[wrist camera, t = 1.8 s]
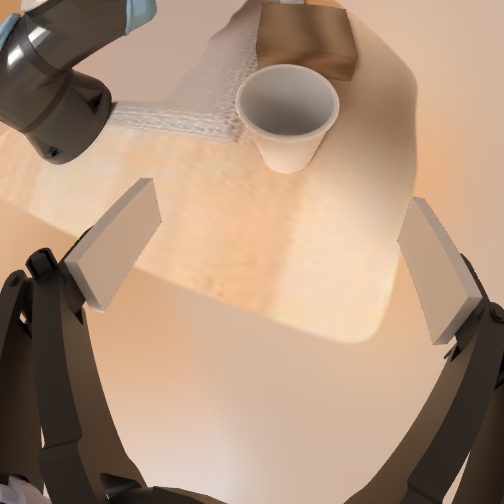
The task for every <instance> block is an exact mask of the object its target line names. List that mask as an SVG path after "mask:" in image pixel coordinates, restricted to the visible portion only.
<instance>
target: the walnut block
mask: <svg viewBox="0 0 504 504" xmlns="http://www.w3.org/2000/svg"><path fill="white" fill-rule="evenodd" d="M256 54H257V60H258V67H259V70H260V69H262V68H265V67H268V66H272V65H279V64H291V65H298V66H303V67H306V68H309V69H311V70H313V71H315V72H317V73H319V74H320V75H322V76H323V77H325V78H331V79H339V80H346V81H350V80H351V77H352V73H353V70H354V66H355V63H356V59H357V53H356V49H355V44H354V40H353V35H352V31H351V27H350V24H349V20H348V16H347V12H346V9H340V8H333V7H326V6H317V5H306V4H289V3H263V4H262V10H261V17H260V23H259V30H258V36H257V43H256Z"/></svg>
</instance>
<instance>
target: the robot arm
mask: <svg viewBox="0 0 504 504" xmlns="http://www.w3.org/2000/svg"><path fill="white" fill-rule="evenodd" d="M21 10H22V11H23V12H24V13H25V14H24V15H23V16H22V17H21V15H20V14H17V13H12V14H11V15H10V16H9V17H8V18H7V19H6V20H5V21H4V22H3V24H2V25H1V26H0V121H1V122H3V123H5V124H7V125H9V126H10V127H12V128H14V129H16V130H18V131H19V132H21V133H23V134H24V135H25V136H26V137H27V139H28V140H29V141H30V143H31V144H32V146H33V147H34V148H35V150H36V151H37V152H38V154H39V155H40V156H41V157H42V158H43V159H45V160H47V161H48V162H50V163H52V164H56V165H59V164H64V163H67V162H69V161H71V160H73V159H74V158H76V157H77V156H78V155H80V154H81V153H82V152H83V151H84V150H85V149H86V148H87V147H88V146H89V145H90V144H91V143H92V141H93V140H94V139H95V138H96V136H97V135H98V133H99V132H100V130H101V129H102V127H103V125H104V123H105V122H106V119H107V117H108V115H109V112H110V108H111V102H112V97H111V93H110V91H109V89H108V88H107V87H106V86H105V85H104V84H103V83H102V82H101V81H99V80H98V79H95V78H93V77H91V76H88V75H85V74H83V73H80V72H78V71H75V70H73V69H72V67H74V66H75V65H77V64H78V63H79V62H81V61H82V60H84V59H85V58H87V57H88V56H90V55H91V54H93V53H94V52H96V51H97V50H99V49H101V48H102V47H104V46H106V45H107V44H109V43H111V42H112V41H114V40H116V39H118V38H119V37H121V36H123V35H124V36H126V35H128V34H129V33H130V32H131V31H132V30H134V29H136V28H138V27H140V26H142V25H143V24H145V23H147V22H149V21H150V20H152V19H153V17H154V16H155V14H156V11H157V6H156V2H155V0H22V4H21ZM161 223H162V221H161V216H160V212H159V207H158V203H157V198H156V193H155V188H154V183H153V178H140V179H139V180H138V181H137V182H136V183H135V184H134V185H133V186H132V187H131V188H130V189H129V190H128V191H127V192H126V193H125V194H124V195H123V196H122V197H121V198H120V199H119V200H118V201H117V202H116V203H115V204H114V205H113V206H112V207H111V208H110V209H109V210H108V211H107V212H106V213H105V214H104V215H103V216H102V217H101V218H100V219H99V220H98V222H97V223H96V224H95V225H94V226H92V227H91V228H89V229H88V230H87V231H85V232H84V233H83V235H82V236H81V237H80V238H79V240H77V241H76V243H75V244H74V246H72V247H71V249H70V250H69V251H68V252H67V253H66V255H65V256H64V257H63V258H62V259H61V261H60V262H59V263H57V261H56V259H55V257H54V255H53V253H52V251H51V250H50V249H49V248H42V249H39V250H37V251H36V252H34V253H33V254H32V255H31V256H30V257H29V258H28V260H27V262H26V266H27V268H28V270H29V271H30V273H31V275H32V277H33V278H28V277H27V275H26V274H25V272H24V271H23V270H17V271H15V272H13V273H11V274H10V275H9V277H8V278H7V279H6V281H5V283H4V285H3V288H2V290H1V293H0V504H227V503H224V502H221V501H219V500H217V499H214V498H212V497H210V496H208V495H203V494H199V493H195V492H191V491H187V490H183V489H179V488H168V487H158V486H154V487H147V485H146V483H145V481H144V479H143V477H142V475H141V473H140V472H139V470H138V468H137V467H136V465H135V464H134V463H133V462H132V461H131V460H130V459H129V457H128V456H127V454H126V453H125V450H124V448H123V446H122V443H121V441H120V438H119V436H118V433H117V431H116V428H115V425H114V422H113V420H112V417H111V414H110V411H109V408H108V405H107V402H106V399H105V396H104V392H103V389H102V386H101V382H100V378H99V375H98V371H97V367H96V363H95V359H94V355H93V350H92V346H91V341H90V336H89V331H88V326H87V320H86V314H85V310H84V309H83V307H82V305H83V304H84V302H85V301H86V302H87V303H88V305H89V307H90V308H91V310H95V311H98V312H103V313H105V311H106V310H107V308H108V306H109V305H110V303H111V301H112V299H113V298H114V296H115V294H116V292H117V291H118V289H119V287H120V286H121V284H122V282H123V281H124V279H125V278H126V276H127V274H128V273H129V271H130V269H131V268H132V266H133V265H134V263H135V262H136V260H137V258H138V257H139V255H140V254H141V252H142V251H143V249H144V248H145V246H146V245H147V243H148V242H149V240H150V239H151V237H152V236H153V234H154V233H155V231H156V230H157V228H158V227H159V226H160V224H161ZM397 241H398V243H399V246H400V248H401V251H402V253H403V256H404V258H405V261H406V263H407V266H408V268H409V271H410V274H411V276H412V279H413V282H414V285H415V288H416V290H417V293H418V296H419V299H420V302H421V305H422V309H423V312H424V315H425V318H426V321H427V325H428V329H429V332H430V336H431V340H432V343H433V345H440V344H448V342H449V341H450V340H451V339H452V338H453V336H454V335H455V336H456V340H457V343H456V344H455V345H454V346H453V347H452V349H451V350H450V351H449V352H448V353H447V354H446V355H445V356H444V359H446V358H447V357H448V356H449V357H448V359H447V362H446V364H445V366H444V368H443V370H442V372H441V375H440V377H439V379H438V380H437V383H436V384H435V386H434V388H433V390H432V392H431V394H430V396H429V398H428V400H427V401H426V403H425V405H424V406H423V408H422V410H421V412H420V413H419V415H418V417H417V418H416V420H415V421H414V423H413V424H412V426H411V428H410V429H409V431H408V432H407V434H406V435H405V437H404V438H403V440H402V441H401V443H400V444H399V445H398V447H397V448H396V449H395V451H394V452H393V453H392V455H391V456H390V457H389V459H388V460H387V461H386V463H385V464H384V465H383V466H382V468H381V469H380V470H379V471H378V473H377V474H376V475H375V477H373V479H372V480H371V481H370V482H369V483H368V484H367V485H366V486H365V487H364V488H363V489H362V490H360V491H358V492H357V493H355V494H354V495H353V496H352V497H350V498H349V499H348V500H347V501H346V502H345V503H344V504H442V502H443V498H444V496H445V495H446V493H447V491H448V490H449V488H450V486H451V485H452V483H453V481H454V480H455V478H456V476H457V474H458V473H459V471H460V469H461V467H462V465H463V463H464V462H465V459H466V458H467V456H468V454H469V452H470V454H469V457H468V461H467V464H466V467H465V470H464V473H463V476H462V479H461V481H460V484H459V487H458V489H457V492H456V494H455V497H454V499H453V502H452V504H504V310H503V308H502V307H501V306H500V305H498V304H496V303H494V302H490V300H489V299H488V296H487V294H486V292H485V290H484V288H483V286H482V284H481V282H480V280H479V279H478V277H477V275H476V273H475V272H474V269H473V267H472V265H471V263H470V262H469V261H468V260H467V259H466V257H465V256H464V255H463V254H461V253H459V252H458V250H457V248H456V246H455V245H454V243H453V242H452V240H451V238H450V236H449V235H448V233H447V232H446V230H445V229H444V227H443V226H442V224H441V222H440V221H439V220H438V218H437V217H436V215H435V214H434V212H433V211H432V209H431V208H430V207H429V205H428V204H427V202H426V201H425V199H423V198H417V197H412V196H411V200H410V203H409V206H408V210H407V213H406V216H405V219H404V222H403V226H402V229H401V232H400V234H399V237H398V240H397ZM21 313H22V315H23V316H24V317H25V318H26V321H25V323H23V322H22V321H21V320H20V314H21ZM41 427H42V431H43V436H44V441H45V445H44V447H43V448H42V442H41ZM470 450H471V451H470ZM44 483H45V486H46V488H47V492H48V494H49V497H50V499H49V498H47V497H46V496H43V490H44ZM106 494H107V495H106ZM107 496H108V497H109V499H108V497H107ZM50 500H51V501H50Z"/></svg>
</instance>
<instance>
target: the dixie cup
mask: <svg viewBox="0 0 504 504" xmlns="http://www.w3.org/2000/svg"><path fill="white" fill-rule="evenodd" d="M235 106H236V111H237V114H238V116H239V118H240V119H241V121H242V122H243V123H244V125H245V126H246V127H247V128H248V130H249V132H250V134H251V136H252V138H253V140H254V142H255V144H256V146H257V148H258V150H259V152H260V154H261V156H262V158H263V160H264V162H265V163H266V164H267V166H268V167H270V168H271V169H272V170H274V171H276V172H279V173H284V174H292V173H296V172H299V171H301V170H303V169H304V168H305V167H306V166H307V165H308V164H309V162H310V161H311V159H312V157H313V155H314V153H315V152H316V150H317V148H318V146H319V144H320V142H321V141H322V139H323V137H324V135H325V133H326V132H327V130H328V129H329V128H330V127H331V126H332V125H333V124H334V122H335V121H336V119H337V116H338V113H339V98H338V95H337V93H336V91H335V89H334V87H333V86H332V85H331V83H330V82H329V81H328V80H327V79H326V78H325V77H323V76H322V75H320V74H319V73H317V72H315V71H313V70H311V69H309V68H306V67H303V66H298V65H291V64H279V65H272V66H268V67H265V68H262V69H260V70H258V71H256V72H254V73H253V74H251V75H250V76H248V77H247V78H246V79H245V80H244V81H243V83H242V84H241V85H240V87H239V89H238V91H237V94H236V99H235Z"/></svg>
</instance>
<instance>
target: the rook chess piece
mask: <svg viewBox="0 0 504 504" xmlns="http://www.w3.org/2000/svg"><path fill="white" fill-rule="evenodd" d="M279 3H289V4H304V0H279Z"/></svg>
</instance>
